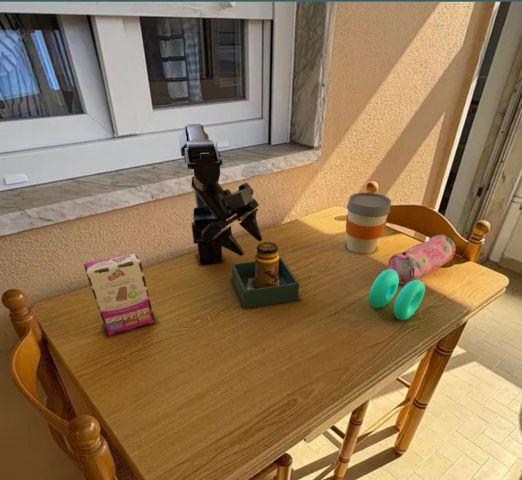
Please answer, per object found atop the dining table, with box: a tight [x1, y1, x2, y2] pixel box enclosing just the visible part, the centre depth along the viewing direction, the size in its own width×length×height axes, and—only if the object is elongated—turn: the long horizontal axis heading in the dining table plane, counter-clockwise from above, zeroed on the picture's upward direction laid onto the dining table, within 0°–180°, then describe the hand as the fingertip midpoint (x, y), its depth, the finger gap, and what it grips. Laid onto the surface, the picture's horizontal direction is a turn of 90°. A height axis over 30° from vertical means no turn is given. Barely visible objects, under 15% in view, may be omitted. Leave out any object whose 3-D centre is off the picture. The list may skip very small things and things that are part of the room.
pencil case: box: [387, 234, 456, 285], centre depth 106 cm, size 21×9×9 cm, turn 127°
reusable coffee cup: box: [345, 192, 392, 255], centre depth 116 cm, size 13×13×15 cm
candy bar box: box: [83, 252, 156, 336], centre depth 85 cm, size 11×5×16 cm, turn 117°
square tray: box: [230, 257, 300, 309], centre depth 100 cm, size 14×14×5 cm
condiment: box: [247, 241, 280, 290], centre depth 97 cm, size 7×8×12 cm
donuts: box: [368, 268, 426, 321], centre depth 92 cm, size 10×10×10 cm
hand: (252, 247), depth 96 cm, fingers open, 9 cm apart
